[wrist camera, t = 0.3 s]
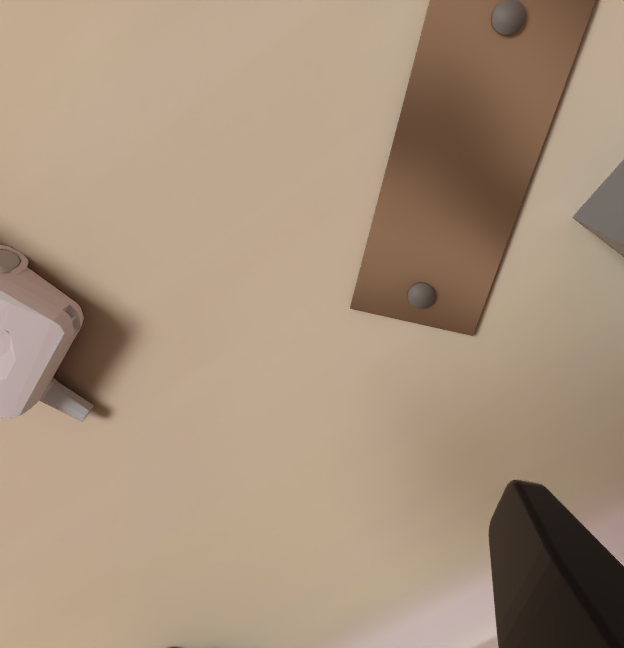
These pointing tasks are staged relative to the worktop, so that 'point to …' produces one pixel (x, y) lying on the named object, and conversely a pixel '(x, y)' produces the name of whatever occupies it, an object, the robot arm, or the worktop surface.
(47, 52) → the worktop surface
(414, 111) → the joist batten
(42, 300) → the mobile phone
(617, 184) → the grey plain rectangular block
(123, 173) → the worktop surface
